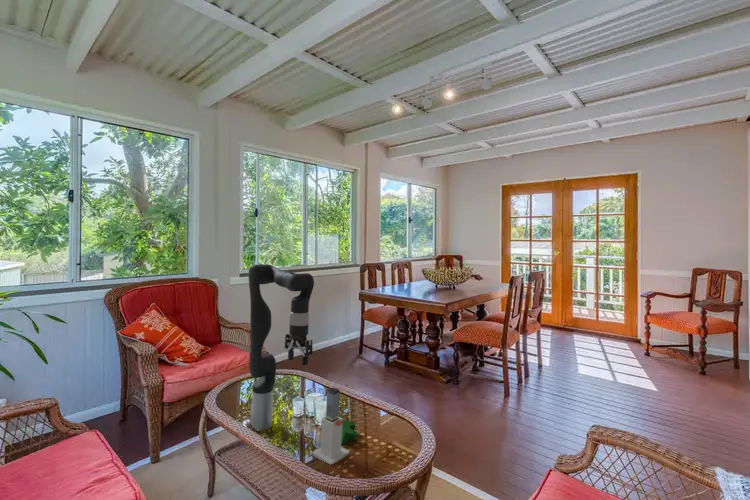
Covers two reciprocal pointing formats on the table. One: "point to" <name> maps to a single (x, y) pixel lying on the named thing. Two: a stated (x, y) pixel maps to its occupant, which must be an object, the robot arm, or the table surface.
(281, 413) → the table surface
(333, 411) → the column
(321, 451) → the stand housing
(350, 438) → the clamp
